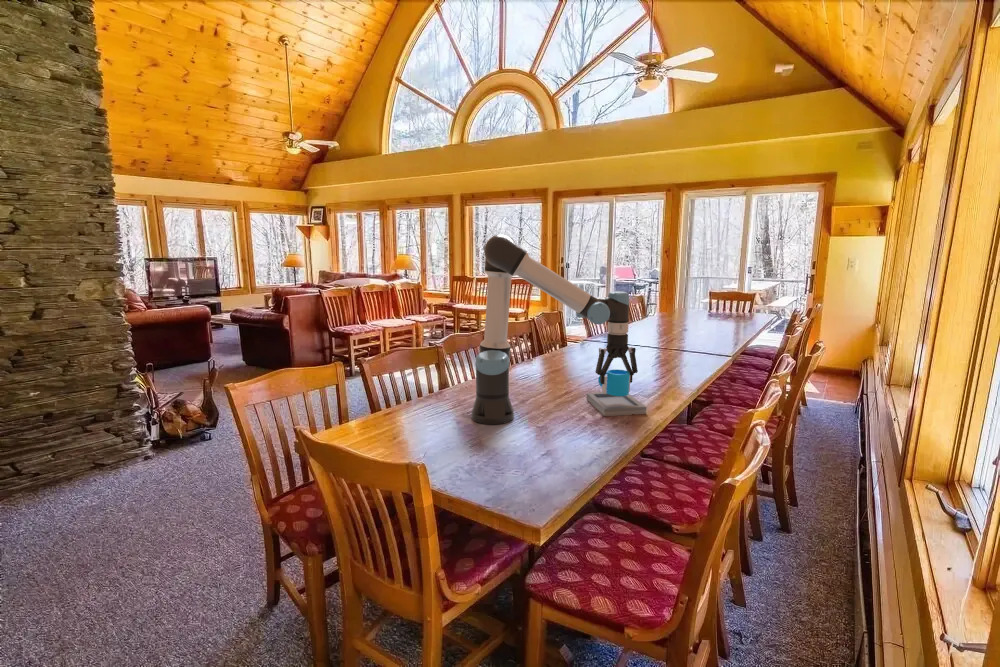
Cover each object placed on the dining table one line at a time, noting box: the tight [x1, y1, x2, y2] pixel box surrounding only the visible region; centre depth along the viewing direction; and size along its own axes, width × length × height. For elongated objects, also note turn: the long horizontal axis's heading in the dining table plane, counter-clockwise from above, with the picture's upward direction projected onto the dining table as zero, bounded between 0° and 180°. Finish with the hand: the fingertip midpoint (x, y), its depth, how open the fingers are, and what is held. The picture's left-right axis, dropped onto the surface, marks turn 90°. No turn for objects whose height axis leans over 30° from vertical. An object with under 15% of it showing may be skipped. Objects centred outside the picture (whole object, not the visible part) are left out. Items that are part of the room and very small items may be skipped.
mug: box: [597, 368, 630, 396], centre depth 188 cm, size 12×8×8 cm
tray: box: [586, 391, 647, 417], centre depth 189 cm, size 16×20×3 cm
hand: (615, 391), depth 189 cm, fingers closed on mug, 8 cm apart
